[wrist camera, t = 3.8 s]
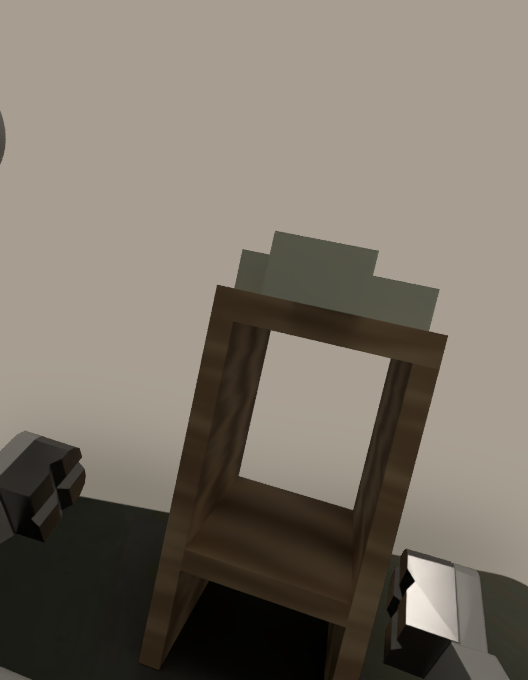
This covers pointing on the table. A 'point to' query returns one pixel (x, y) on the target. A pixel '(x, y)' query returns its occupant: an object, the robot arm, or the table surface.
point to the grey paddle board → (334, 281)
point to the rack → (281, 505)
